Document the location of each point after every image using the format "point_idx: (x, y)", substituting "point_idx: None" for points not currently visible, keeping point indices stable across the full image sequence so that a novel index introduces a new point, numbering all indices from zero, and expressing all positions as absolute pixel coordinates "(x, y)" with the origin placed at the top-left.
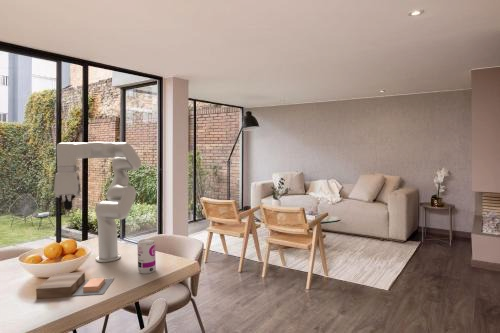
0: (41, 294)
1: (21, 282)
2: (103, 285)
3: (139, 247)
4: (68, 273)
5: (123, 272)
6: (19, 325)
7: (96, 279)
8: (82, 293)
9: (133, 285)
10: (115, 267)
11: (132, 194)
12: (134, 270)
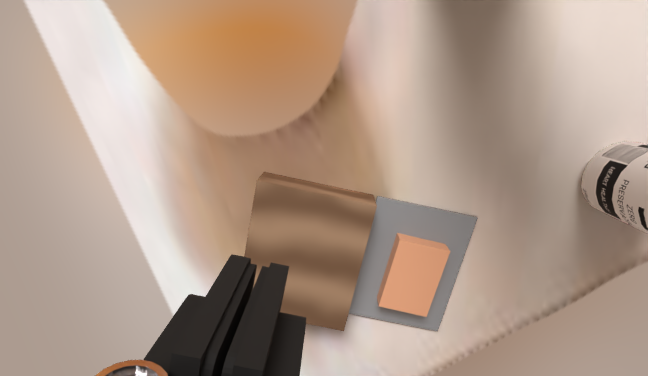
0: None
1: (138, 124)
2: None
3: None
4: (314, 199)
5: (520, 157)
6: None
7: (420, 255)
8: (375, 309)
9: (535, 297)
10: (494, 76)
11: None
12: (567, 149)
